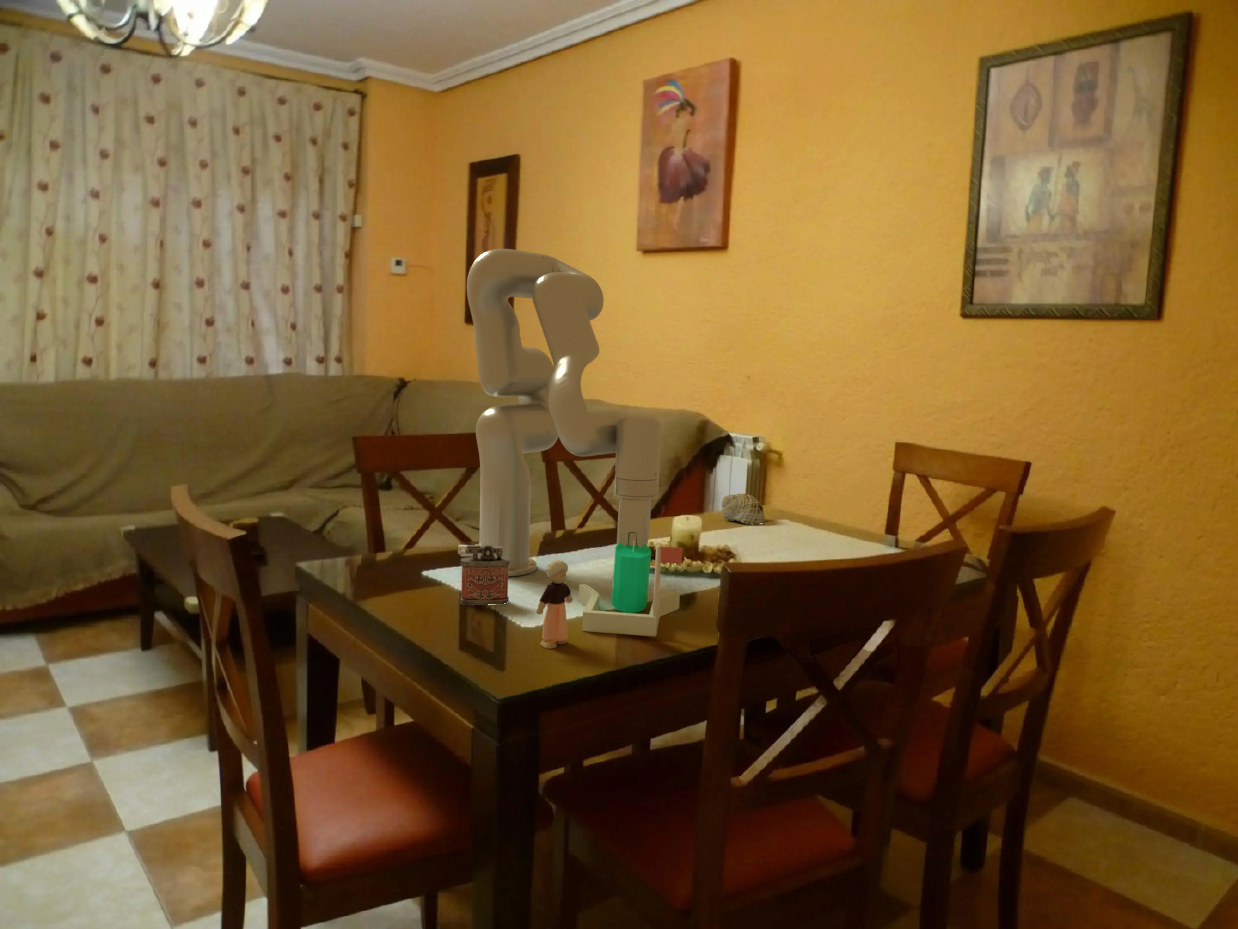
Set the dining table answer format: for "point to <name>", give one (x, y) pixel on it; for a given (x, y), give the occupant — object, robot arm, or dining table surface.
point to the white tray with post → (630, 621)
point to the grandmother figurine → (555, 605)
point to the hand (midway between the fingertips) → (632, 592)
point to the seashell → (742, 509)
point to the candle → (631, 578)
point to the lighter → (484, 576)
